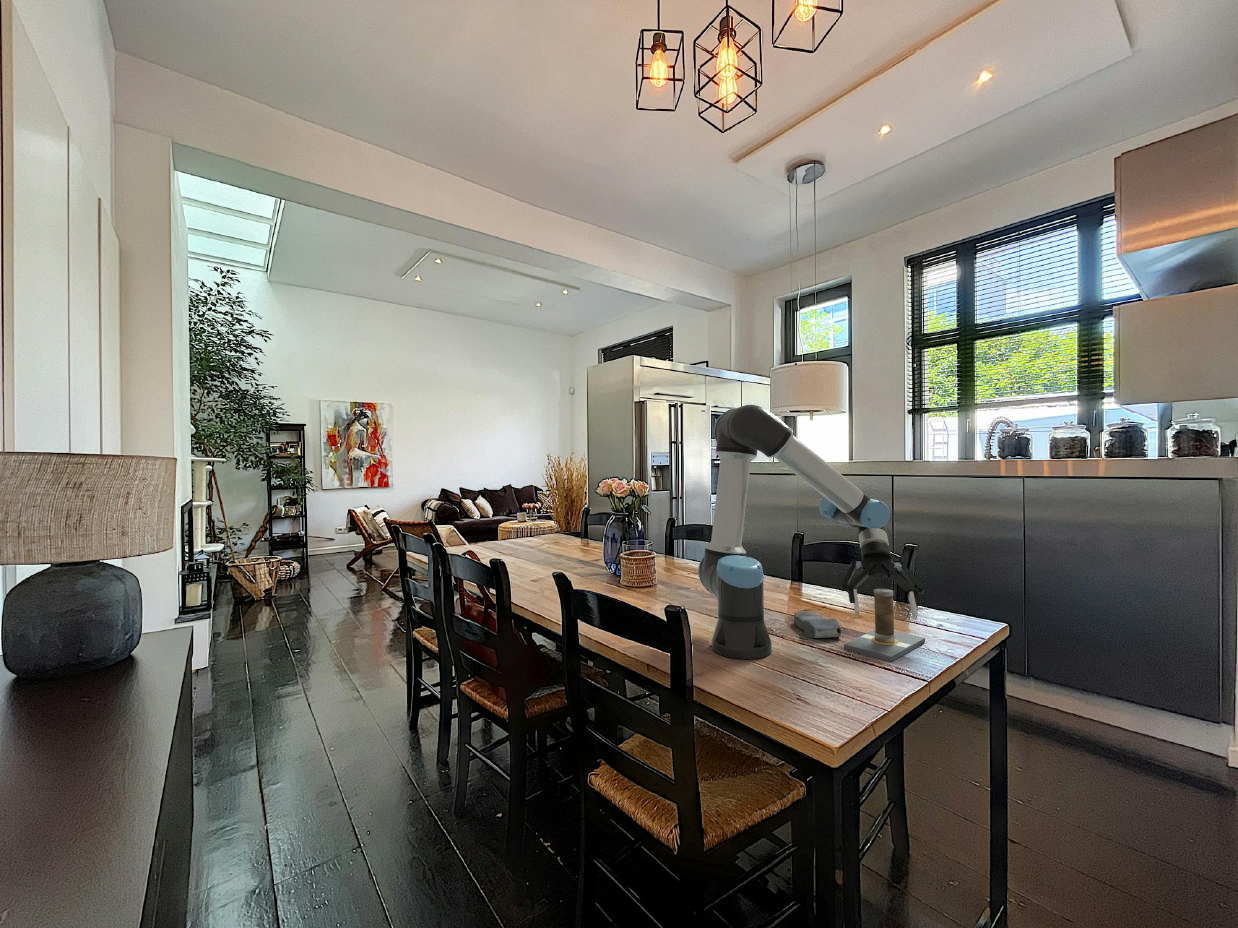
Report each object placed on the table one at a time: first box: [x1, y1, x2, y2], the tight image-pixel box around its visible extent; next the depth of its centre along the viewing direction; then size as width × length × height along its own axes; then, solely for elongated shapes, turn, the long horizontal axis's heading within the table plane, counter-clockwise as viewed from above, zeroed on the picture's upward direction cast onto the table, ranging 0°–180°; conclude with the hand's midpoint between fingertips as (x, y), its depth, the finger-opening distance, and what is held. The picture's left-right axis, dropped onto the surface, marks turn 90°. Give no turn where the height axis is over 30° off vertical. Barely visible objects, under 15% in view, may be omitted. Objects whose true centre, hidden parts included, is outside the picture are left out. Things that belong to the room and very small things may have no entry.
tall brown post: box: [873, 588, 895, 643], centre depth 140 cm, size 5×5×13 cm
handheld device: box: [793, 610, 842, 639], centre depth 155 cm, size 10×20×5 cm, turn 4°
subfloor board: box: [843, 629, 926, 662], centre depth 140 cm, size 20×12×1 cm, turn 130°
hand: (886, 615), depth 138 cm, fingers open, 13 cm apart
